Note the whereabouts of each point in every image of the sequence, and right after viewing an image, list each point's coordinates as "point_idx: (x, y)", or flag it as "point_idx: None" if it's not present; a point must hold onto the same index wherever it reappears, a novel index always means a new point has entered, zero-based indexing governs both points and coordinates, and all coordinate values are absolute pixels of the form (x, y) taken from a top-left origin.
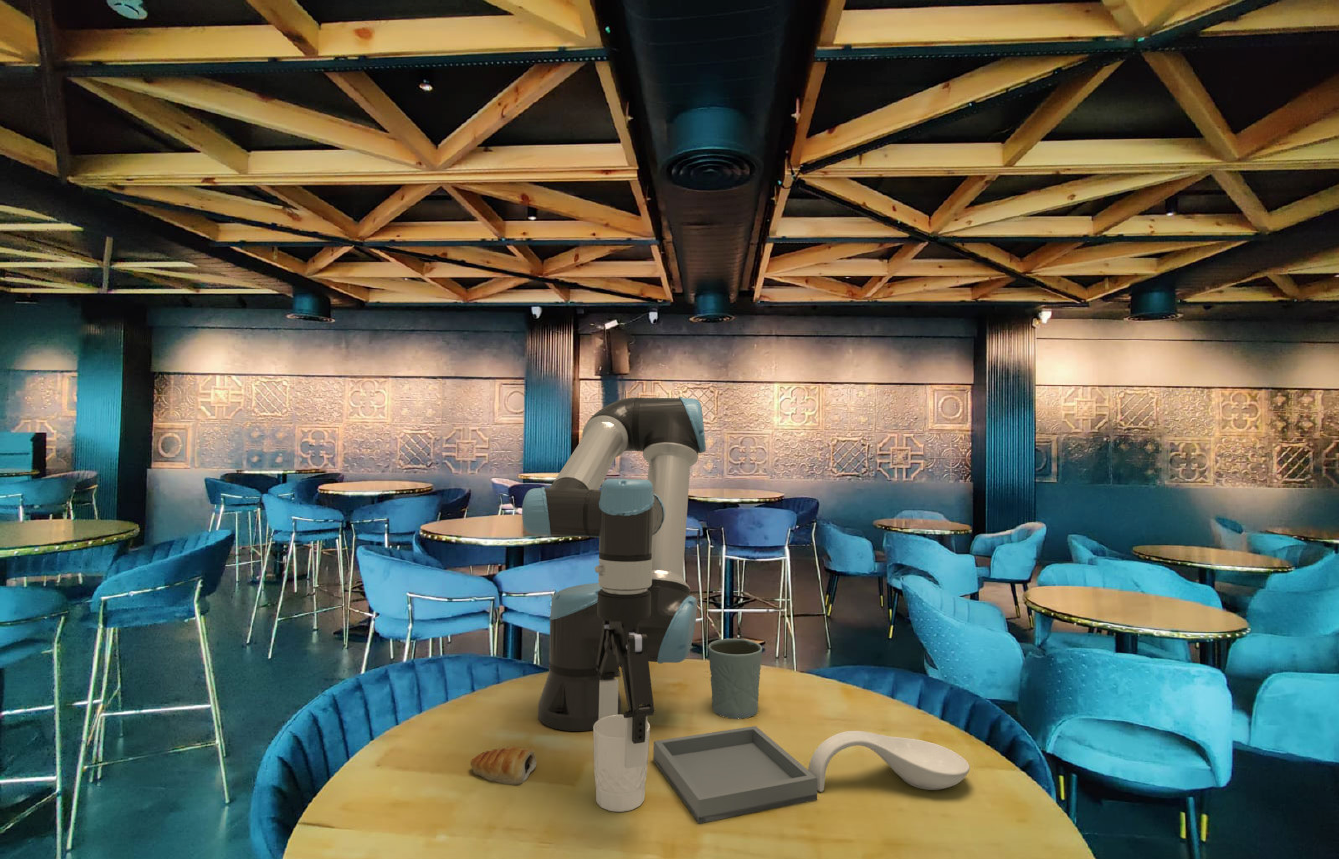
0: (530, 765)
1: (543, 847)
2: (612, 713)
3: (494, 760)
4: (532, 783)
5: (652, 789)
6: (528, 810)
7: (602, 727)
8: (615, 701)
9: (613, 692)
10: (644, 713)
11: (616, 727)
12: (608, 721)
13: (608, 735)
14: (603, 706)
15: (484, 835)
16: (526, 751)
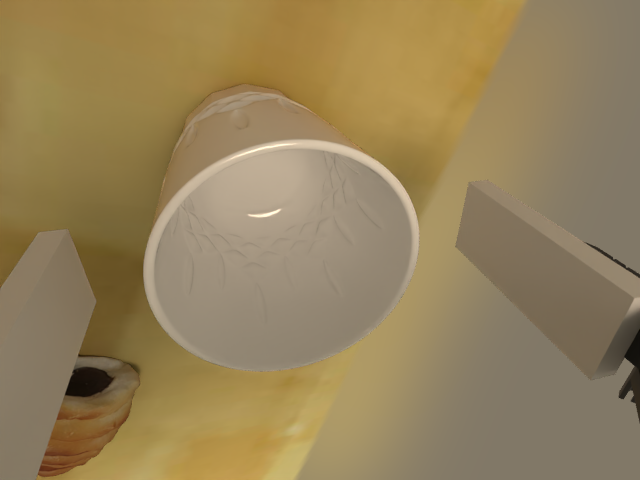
0: None
1: None
2: (60, 288)
3: (93, 450)
4: (130, 344)
5: (214, 40)
6: None
7: (193, 317)
8: (28, 320)
9: (14, 380)
10: None
11: (163, 254)
12: (171, 307)
13: (177, 268)
14: (65, 359)
15: (309, 386)
16: (72, 413)
